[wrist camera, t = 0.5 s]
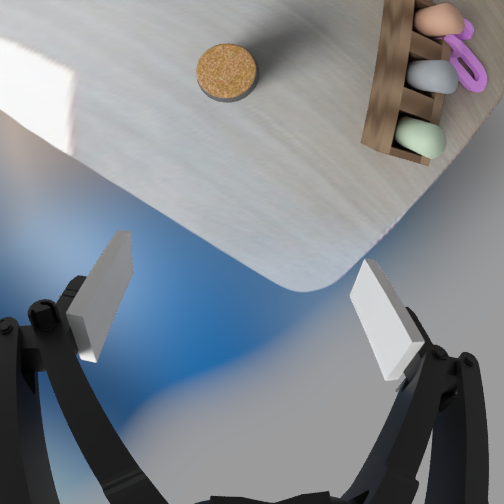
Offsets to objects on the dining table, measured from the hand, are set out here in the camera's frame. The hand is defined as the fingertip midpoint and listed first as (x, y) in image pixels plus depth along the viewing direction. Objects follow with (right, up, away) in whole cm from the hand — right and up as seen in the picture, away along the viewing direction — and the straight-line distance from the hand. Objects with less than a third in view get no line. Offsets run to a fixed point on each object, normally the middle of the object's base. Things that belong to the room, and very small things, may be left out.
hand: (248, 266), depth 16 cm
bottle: (-3, +23, +17) cm, 28 cm away
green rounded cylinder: (+20, +16, +17) cm, 31 cm away
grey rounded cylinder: (+21, +23, +13) cm, 34 cm away
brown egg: (+22, +30, +9) cm, 38 cm away
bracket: (+31, +30, +14) cm, 46 cm away
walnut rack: (+21, +25, +16) cm, 37 cm away
